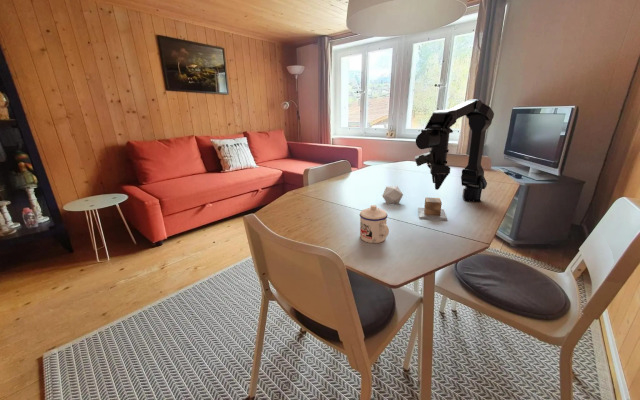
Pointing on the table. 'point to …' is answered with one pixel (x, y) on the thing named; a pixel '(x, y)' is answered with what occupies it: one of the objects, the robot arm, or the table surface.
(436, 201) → the walnut cube
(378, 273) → the table surface
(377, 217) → the teacup with lid
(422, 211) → the coaster
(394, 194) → the die
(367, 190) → the table surface
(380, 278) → the table surface
